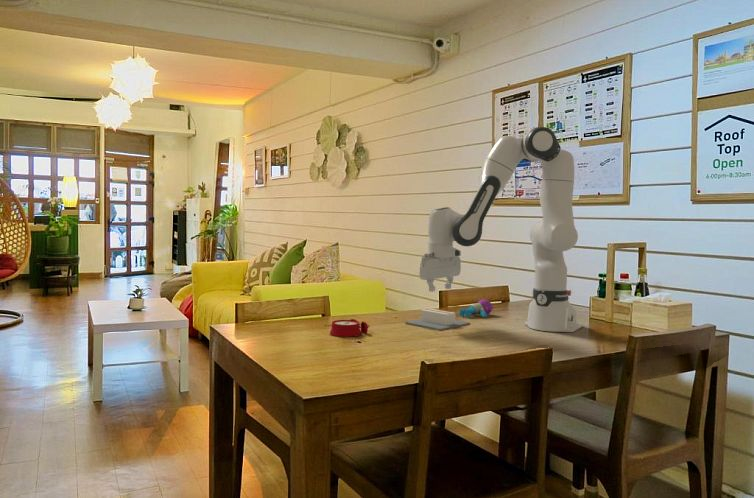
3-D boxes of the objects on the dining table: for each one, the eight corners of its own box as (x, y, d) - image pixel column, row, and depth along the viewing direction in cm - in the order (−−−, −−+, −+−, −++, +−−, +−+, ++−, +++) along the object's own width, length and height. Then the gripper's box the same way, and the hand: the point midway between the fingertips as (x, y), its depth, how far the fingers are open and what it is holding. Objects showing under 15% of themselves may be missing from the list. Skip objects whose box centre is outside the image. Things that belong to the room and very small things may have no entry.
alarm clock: (320, 323, 196) (355, 308, 206) (323, 340, 198) (357, 325, 207) (340, 328, 189) (375, 313, 198) (343, 346, 190) (377, 330, 199)
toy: (476, 325, 228) (502, 314, 237) (474, 308, 227) (501, 298, 236) (454, 320, 238) (481, 310, 247) (452, 304, 237) (479, 295, 245)
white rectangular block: (455, 323, 216) (455, 312, 215) (446, 325, 212) (447, 314, 212) (429, 319, 224) (429, 308, 223) (420, 320, 220) (421, 309, 220)
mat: (435, 317, 230) (435, 316, 230) (469, 324, 219) (470, 322, 219) (405, 323, 217) (405, 322, 217) (440, 330, 206) (440, 328, 206)
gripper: (429, 254, 206) (429, 293, 207) (463, 251, 221) (463, 288, 222) (415, 253, 211) (415, 292, 212) (450, 250, 225) (449, 286, 226)
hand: (440, 290), depth 217 cm, fingers open, 8 cm apart
